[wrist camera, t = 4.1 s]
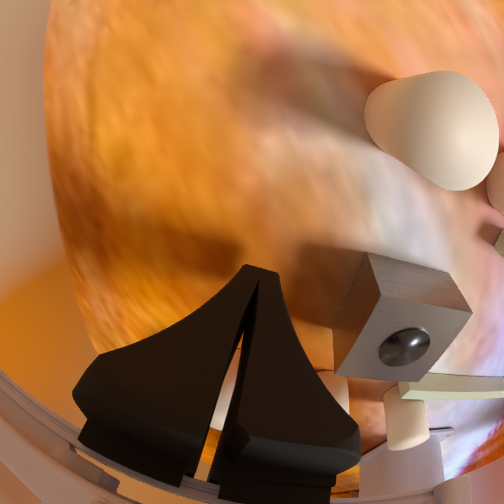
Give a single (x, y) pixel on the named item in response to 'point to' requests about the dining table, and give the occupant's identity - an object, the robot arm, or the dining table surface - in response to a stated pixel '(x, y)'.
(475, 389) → the frame
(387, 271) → the push button box
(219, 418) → the posts
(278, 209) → the dining table surface
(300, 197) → the dining table surface
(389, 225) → the dining table surface
